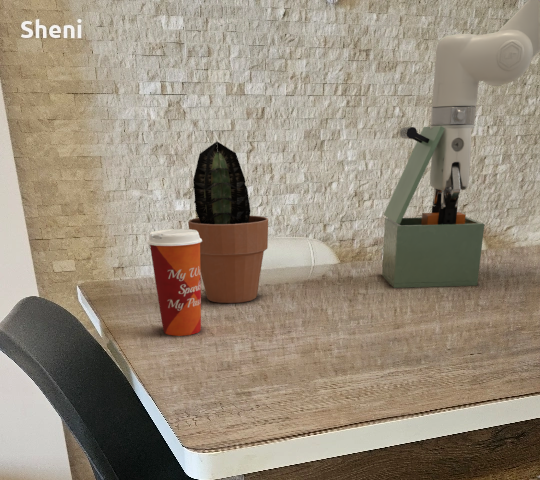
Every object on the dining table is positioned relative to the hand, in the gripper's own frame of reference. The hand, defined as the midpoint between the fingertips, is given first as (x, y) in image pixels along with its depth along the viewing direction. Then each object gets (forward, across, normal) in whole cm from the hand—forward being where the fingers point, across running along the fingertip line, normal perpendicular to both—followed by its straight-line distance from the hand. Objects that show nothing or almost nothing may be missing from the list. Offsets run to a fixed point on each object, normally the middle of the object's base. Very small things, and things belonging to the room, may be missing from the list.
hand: (442, 228), depth 125 cm
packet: (0, 0, 0) cm, 0 cm away
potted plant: (+10, -11, +40) cm, 42 cm away
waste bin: (+9, 0, +2) cm, 10 cm away
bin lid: (-9, 0, +6) cm, 11 cm away
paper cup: (+10, -33, +47) cm, 58 cm away
